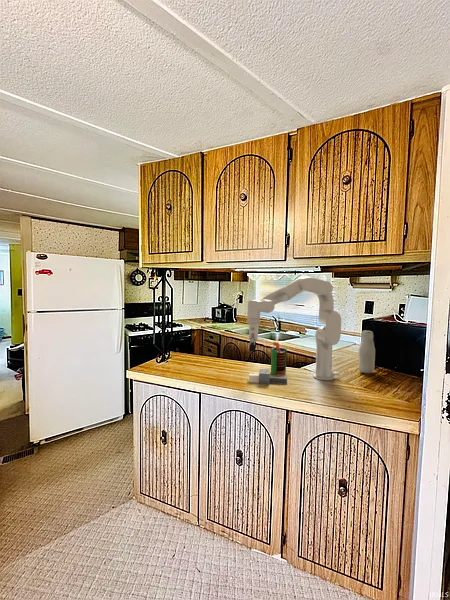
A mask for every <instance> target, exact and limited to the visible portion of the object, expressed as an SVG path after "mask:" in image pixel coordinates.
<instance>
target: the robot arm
mask: <svg viewBox="0 0 450 600" xmlns="http://www.w3.org/2000/svg"><path fill="white" fill-rule="evenodd" d="M333 291H334V286H333V284H332V283H331V282H330V281H329V280H328V281H327V280H323V279H319V278H315V277H312V276H300V277H298V278H296V279H295V280H293V281H291V282H290V283H288V284H286V285H285V286H283V287H282V288H279V289H276V290H274V291H273V292H270V293H268V294H267V295H266V296H263V297H262V298H261V299H249V300H248V301H247V308H246V309H247V313H246V316H247V319H246V324H248V341H249V352H250V353H251V352H254V353H255V352H256V348H257V342H258V340H259V325H260V324H261V313H264V314H269V313H272V312H273V311H274V310H275V305H277V304H281V303H282V302H283V303H284V302H288V301H291V300H293V299H294V298H295V297H297V296H298V295H300V294H302V293H304V292H309V293H313V294H314V295H316V296H317V298H318V302H319V303H318V305H319V307H318V321H319V323H320V324H321V325H325V326H320V327H318V328H317V329H316V331H315V334H314V335H315V344H316V345H315V346H316V350H315V351H316V352H315V353H316V354H315V373H313V375H312V377H313V378H314V379H316V380H322V381H331V380H334V379H335V376H337V377H339V376H341V374H340V373H341V372H337V371H333V346H335V345H337V344H338V343H339V341H340V339H341V334H342V333H341V332H342V316H341V314H340V313H339V312H338V311H337V310H335V301H334V296H333V293H332V292H333Z"/></svg>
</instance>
